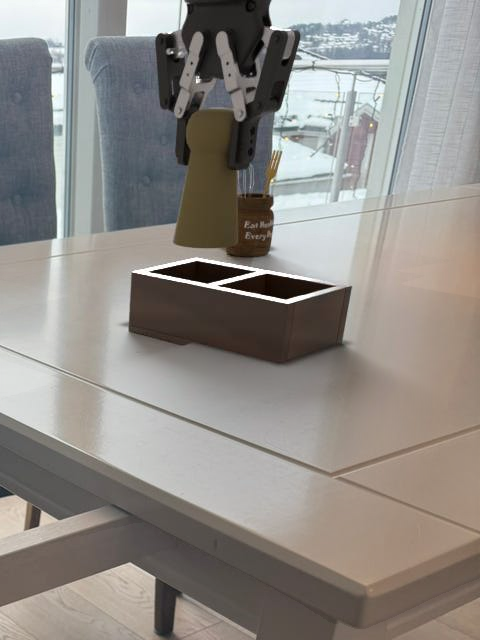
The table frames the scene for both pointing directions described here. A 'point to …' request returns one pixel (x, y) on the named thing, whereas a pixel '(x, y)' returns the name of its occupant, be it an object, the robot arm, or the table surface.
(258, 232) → the utensil holder
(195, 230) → the cork
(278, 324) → the holder
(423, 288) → the table surface
